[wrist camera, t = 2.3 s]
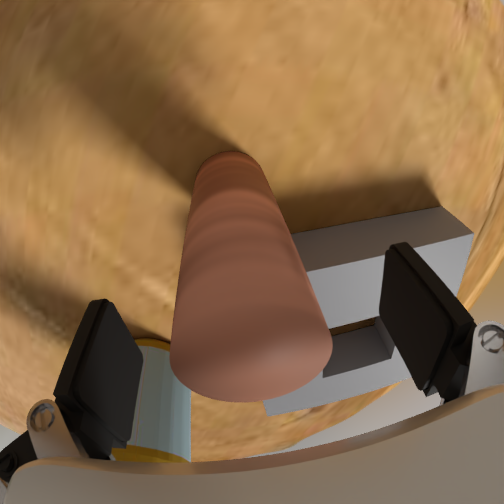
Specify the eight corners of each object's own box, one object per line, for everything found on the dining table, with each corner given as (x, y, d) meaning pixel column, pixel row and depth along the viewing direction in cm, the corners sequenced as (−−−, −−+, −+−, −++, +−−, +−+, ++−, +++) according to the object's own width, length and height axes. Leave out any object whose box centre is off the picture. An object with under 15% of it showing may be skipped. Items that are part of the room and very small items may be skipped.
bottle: (106, 332, 22) (71, 506, 10) (188, 335, 23) (186, 525, 11) (124, 378, 26) (108, 521, 14) (193, 381, 27) (197, 531, 15)
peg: (187, 159, 16) (142, 321, 6) (259, 145, 16) (334, 286, 6) (204, 222, 18) (197, 409, 8) (269, 209, 18) (330, 386, 8)
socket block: (227, 246, 19) (229, 287, 16) (441, 206, 19) (474, 233, 16) (262, 381, 28) (267, 416, 25) (409, 343, 28) (425, 371, 25)
